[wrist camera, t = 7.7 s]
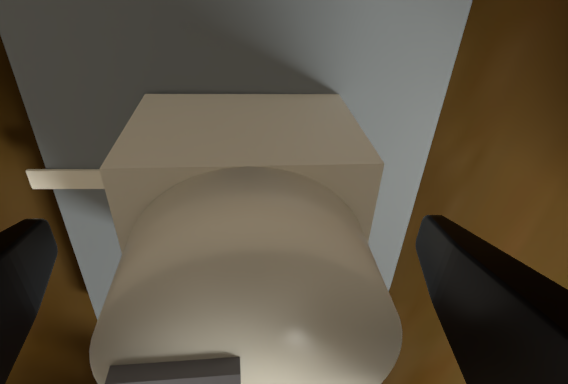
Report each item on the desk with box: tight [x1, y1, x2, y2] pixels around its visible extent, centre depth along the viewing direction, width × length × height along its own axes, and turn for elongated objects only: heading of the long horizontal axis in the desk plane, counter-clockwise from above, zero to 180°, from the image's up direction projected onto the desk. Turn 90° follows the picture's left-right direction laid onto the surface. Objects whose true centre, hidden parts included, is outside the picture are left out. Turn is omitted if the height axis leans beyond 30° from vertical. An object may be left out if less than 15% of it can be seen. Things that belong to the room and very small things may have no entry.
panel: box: [0, 0, 472, 320], centre depth 10 cm, size 12×13×5 cm
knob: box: [89, 94, 402, 384], centre depth 9 cm, size 5×5×6 cm
